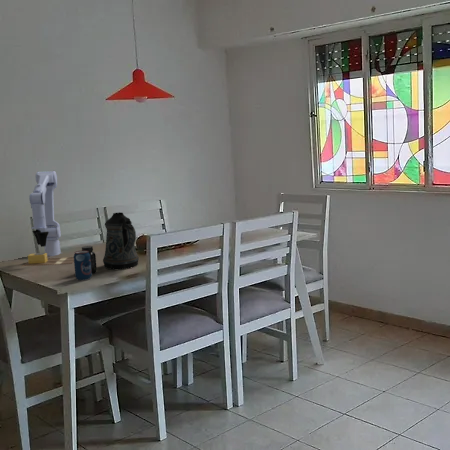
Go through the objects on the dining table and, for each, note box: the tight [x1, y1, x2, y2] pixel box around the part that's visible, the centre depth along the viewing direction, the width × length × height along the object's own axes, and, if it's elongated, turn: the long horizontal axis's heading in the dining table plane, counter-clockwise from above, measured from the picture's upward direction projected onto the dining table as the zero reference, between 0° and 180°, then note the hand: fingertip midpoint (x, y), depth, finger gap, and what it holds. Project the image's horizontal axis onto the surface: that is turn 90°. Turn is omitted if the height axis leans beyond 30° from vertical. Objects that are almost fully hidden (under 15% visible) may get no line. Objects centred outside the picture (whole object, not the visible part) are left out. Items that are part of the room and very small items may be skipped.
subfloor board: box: [21, 256, 74, 267], centre depth 299 cm, size 16×24×1 cm, turn 90°
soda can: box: [73, 249, 93, 281], centre depth 263 cm, size 7×7×12 cm
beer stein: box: [102, 212, 140, 271], centre depth 283 cm, size 16×19×25 cm
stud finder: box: [27, 252, 48, 264], centre depth 298 cm, size 4×8×4 cm, turn 91°
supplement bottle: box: [81, 245, 98, 275], centre depth 274 cm, size 7×7×12 cm
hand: (41, 245), depth 294 cm, fingers open, 7 cm apart
